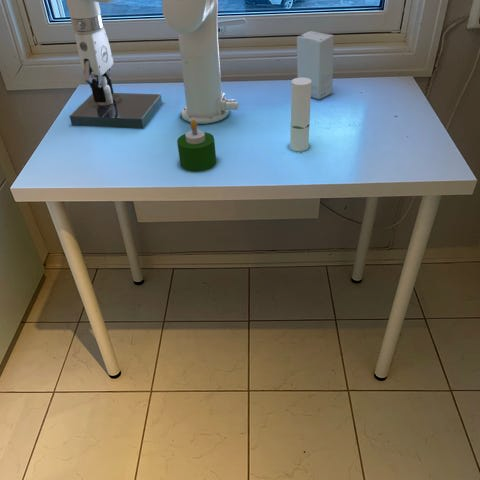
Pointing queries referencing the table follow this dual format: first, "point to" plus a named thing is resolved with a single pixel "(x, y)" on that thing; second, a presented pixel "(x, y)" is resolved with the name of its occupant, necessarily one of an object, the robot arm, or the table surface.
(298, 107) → the tube
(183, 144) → the candle
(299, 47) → the cosmetic box
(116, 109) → the plate
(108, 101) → the pill bottle
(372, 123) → the table surface
